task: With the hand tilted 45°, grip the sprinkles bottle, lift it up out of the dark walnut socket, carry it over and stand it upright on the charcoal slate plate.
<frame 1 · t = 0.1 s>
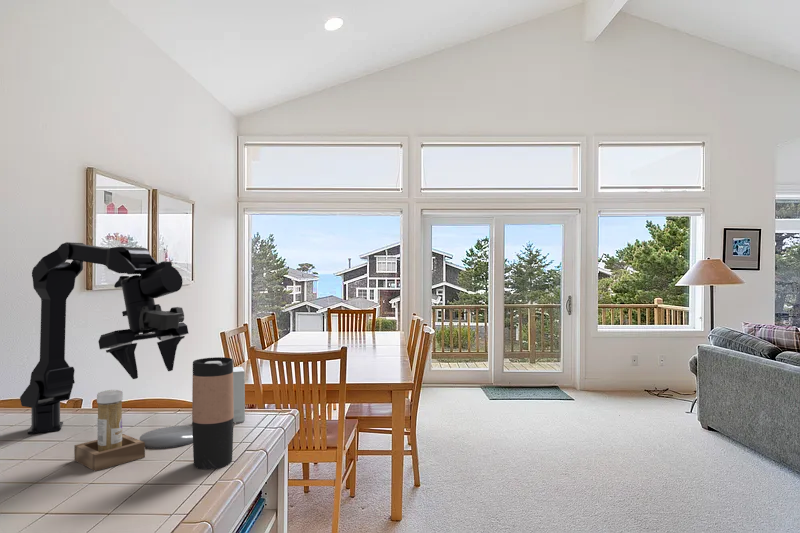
hand: (153, 374, 114), 15 cm above the counter, tool pointing down, fingers open, 9 cm apart
walnut socket: (109, 458, 107), on the counter
supplement box: (228, 420, 135), on the counter
sprinkles bottle: (109, 459, 107), resting in walnut socket
travel mug: (213, 463, 105), on the counter
slate plate: (171, 438, 120), on the counter
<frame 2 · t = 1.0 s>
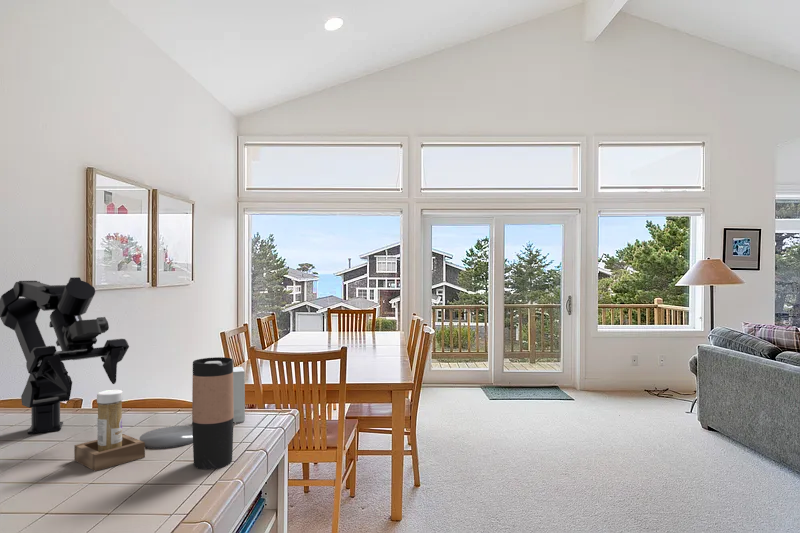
hand: (92, 386, 112), 13 cm above the counter, tool tilted 45°, fingers open, 9 cm apart
nothing on the counter moved.
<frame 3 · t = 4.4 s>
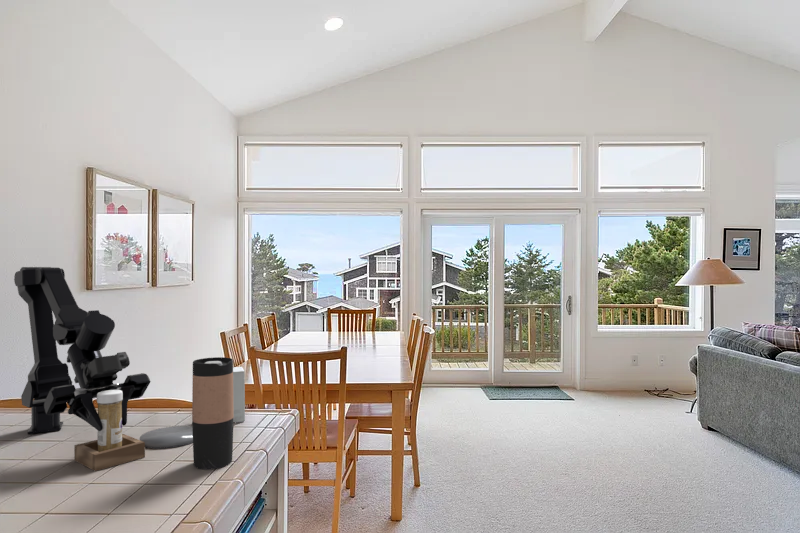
hand: (113, 427, 106), 7 cm above the counter, tool tilted 45°, fingers closed on sprinkles bottle, 4 cm apart
sprinkles bottle: (109, 459, 107), resting in walnut socket, touching gripper
everything else where it was.
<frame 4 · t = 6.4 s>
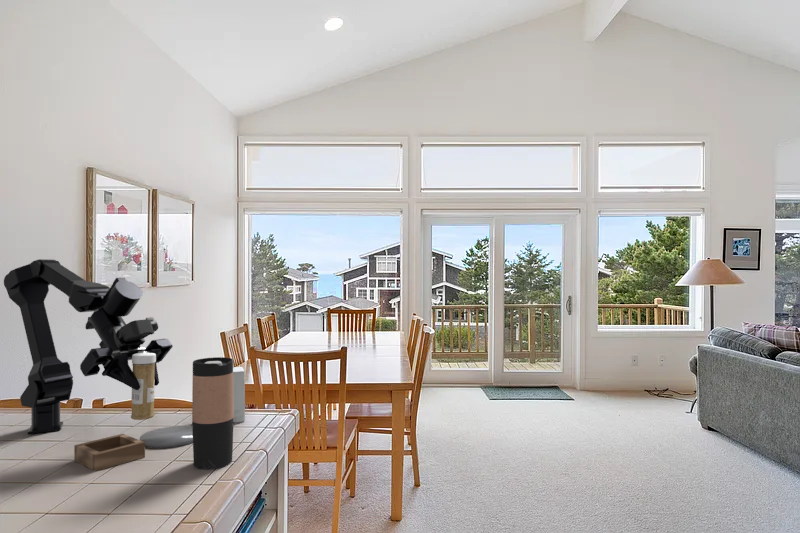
hand: (148, 386, 112), 13 cm above the counter, tool tilted 45°, fingers closed on sprinkles bottle, 4 cm apart
sprinkles bottle: (142, 418, 113), point 6 cm above the counter, touching gripper
everything else where it was.
when the fingers open (9 cm above the counter, at t = 8.3 s): sprinkles bottle drops 1 cm, resting on slate plate.
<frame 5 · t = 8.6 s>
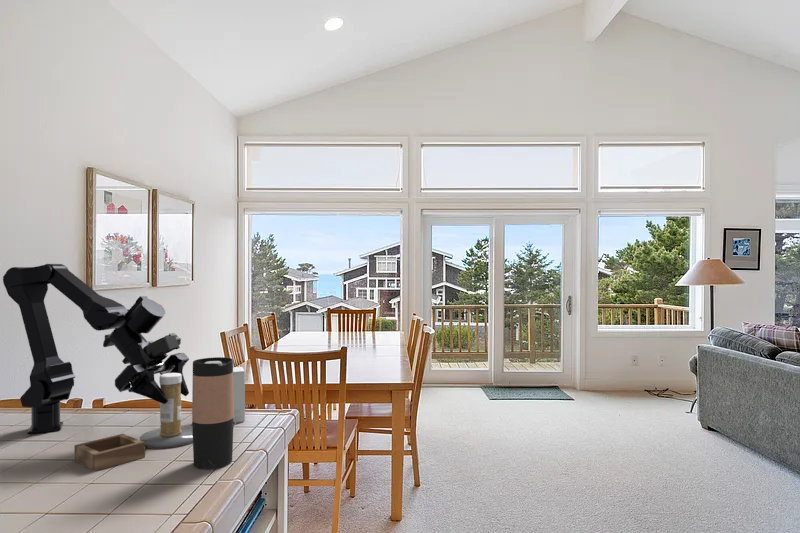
hand: (177, 398, 119), 9 cm above the counter, tool tilted 45°, fingers open, 7 cm apart
sprinkles bottle: (170, 435, 119), point 1 cm above the counter, touching slate plate
everything else where it was.
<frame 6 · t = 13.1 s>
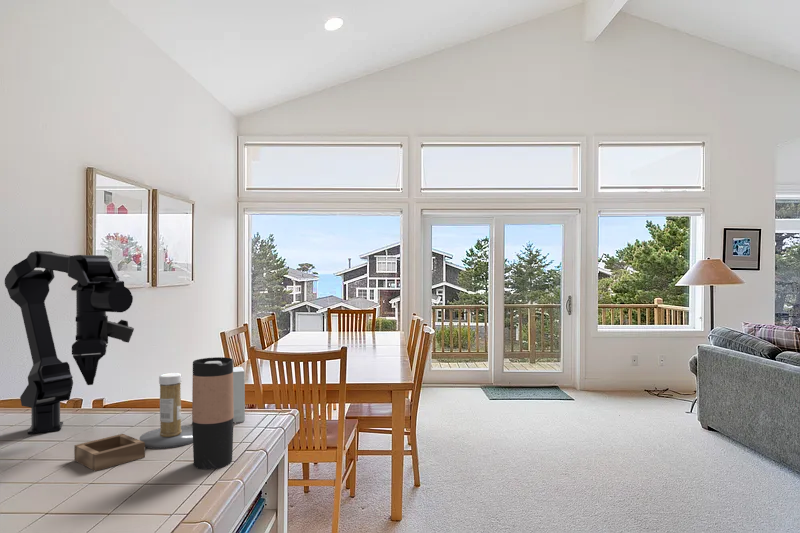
hand: (91, 381, 119), 13 cm above the counter, tool pointing down, fingers open, 9 cm apart
nothing on the counter moved.
at the end: sprinkles bottle inside the target area on the slate plate (0.3 cm from its centre), point 0.8 cm above the slate plate's base; sprinkles bottle tilted 0°; the gripper is holding nothing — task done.
